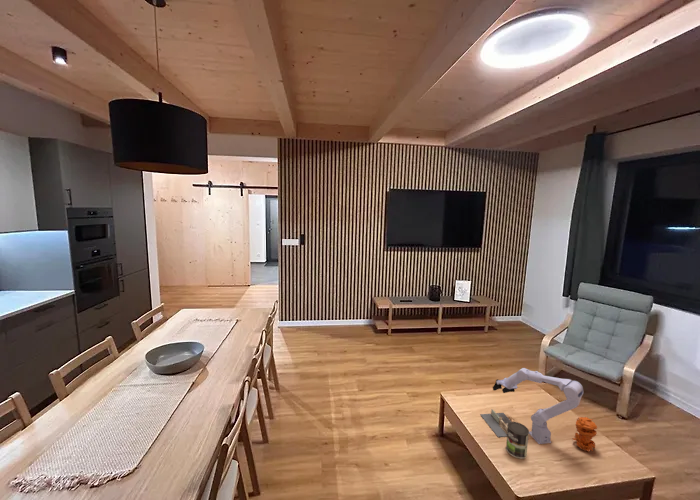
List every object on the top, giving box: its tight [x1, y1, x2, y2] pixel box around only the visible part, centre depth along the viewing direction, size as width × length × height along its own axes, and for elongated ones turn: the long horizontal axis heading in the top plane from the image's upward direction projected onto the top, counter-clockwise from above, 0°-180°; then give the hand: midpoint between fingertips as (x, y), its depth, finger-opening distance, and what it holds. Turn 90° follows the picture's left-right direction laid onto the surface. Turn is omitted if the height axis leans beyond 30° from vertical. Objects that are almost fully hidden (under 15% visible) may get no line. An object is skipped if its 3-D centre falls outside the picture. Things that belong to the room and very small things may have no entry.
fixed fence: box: [499, 417, 508, 433], centre depth 184 cm, size 10×2×5 cm, turn 6°
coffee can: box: [505, 421, 530, 460], centre depth 168 cm, size 10×10×14 cm
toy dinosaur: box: [572, 416, 598, 452], centre depth 170 cm, size 11×11×18 cm
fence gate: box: [490, 408, 499, 423], centre depth 194 cm, size 9×1×4 cm, turn 6°
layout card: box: [480, 412, 513, 438], centre depth 190 cm, size 20×16×1 cm
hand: (498, 390), depth 197 cm, fingers open, 7 cm apart
